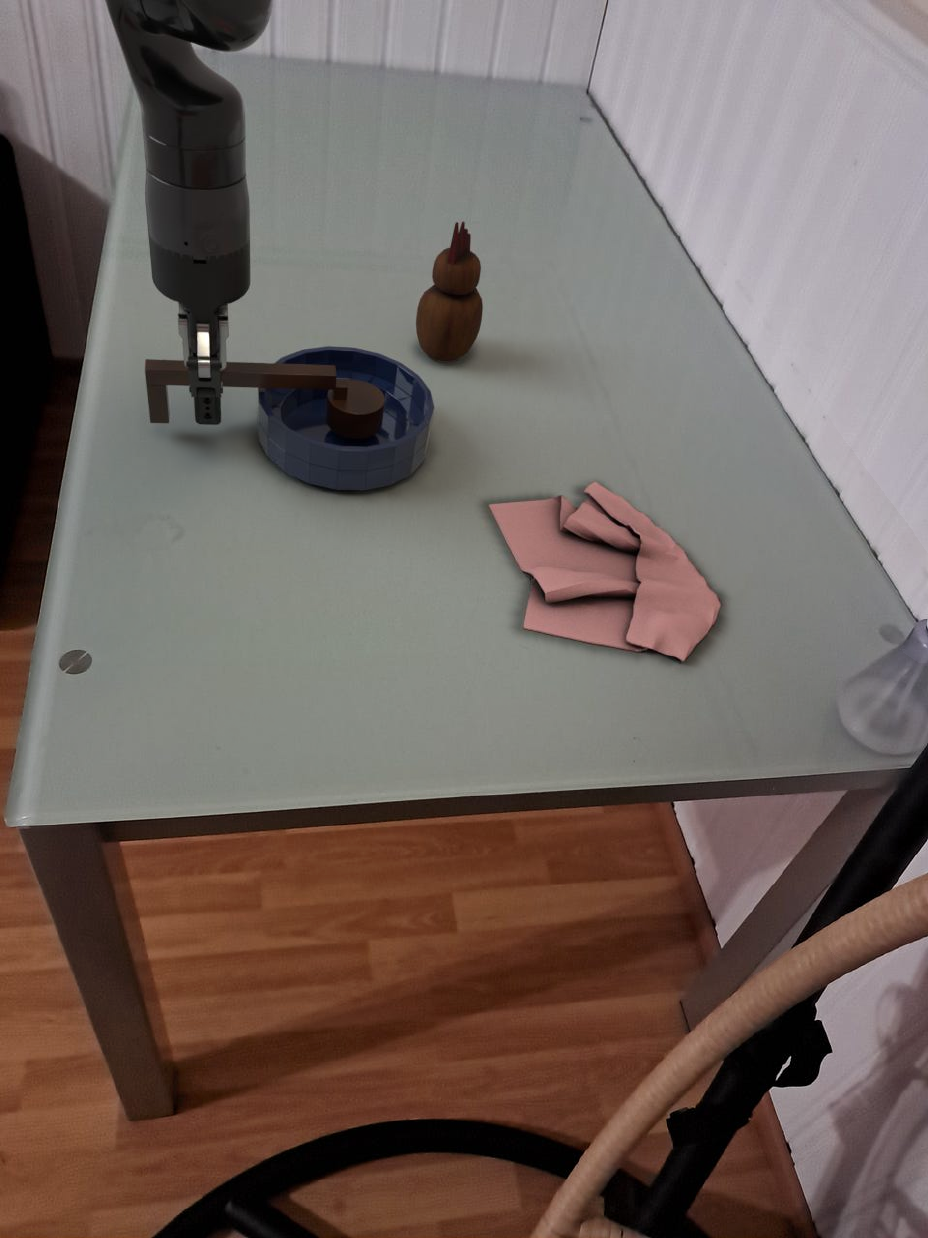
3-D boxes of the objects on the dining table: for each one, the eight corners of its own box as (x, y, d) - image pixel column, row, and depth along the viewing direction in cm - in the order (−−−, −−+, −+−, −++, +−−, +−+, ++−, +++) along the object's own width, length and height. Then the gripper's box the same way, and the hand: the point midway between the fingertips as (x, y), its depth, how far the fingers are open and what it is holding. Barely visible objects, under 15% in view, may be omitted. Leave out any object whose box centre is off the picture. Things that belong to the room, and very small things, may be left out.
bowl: (293, 510, 82) (295, 464, 78) (235, 403, 90) (234, 358, 86) (454, 477, 88) (462, 433, 84) (385, 380, 96) (390, 337, 93)
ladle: (149, 436, 82) (143, 382, 78) (151, 399, 86) (146, 346, 82) (385, 439, 87) (391, 389, 83) (378, 405, 91) (384, 355, 87)
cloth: (710, 687, 76) (721, 668, 74) (448, 605, 77) (452, 584, 75) (729, 527, 89) (738, 508, 88) (506, 460, 91) (511, 440, 89)
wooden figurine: (437, 375, 99) (459, 236, 88) (402, 347, 101) (419, 209, 90) (484, 358, 102) (511, 222, 91) (449, 331, 105) (472, 196, 94)
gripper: (150, 182, 76) (166, 368, 88) (144, 271, 67) (162, 463, 80) (247, 189, 77) (249, 371, 90) (253, 276, 69) (254, 464, 81)
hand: (208, 414), depth 85 cm, fingers closed on ladle
